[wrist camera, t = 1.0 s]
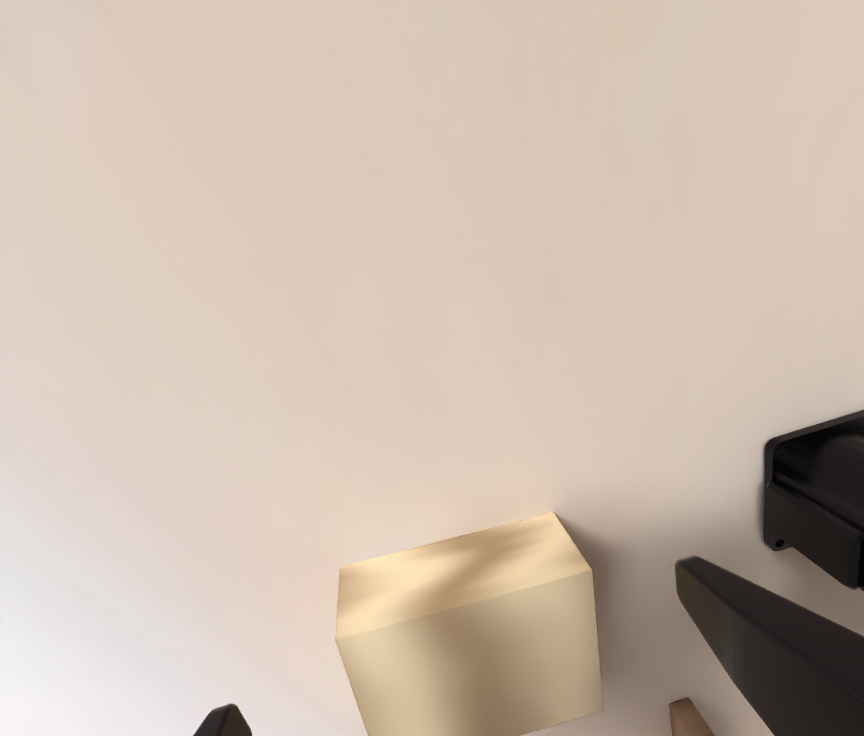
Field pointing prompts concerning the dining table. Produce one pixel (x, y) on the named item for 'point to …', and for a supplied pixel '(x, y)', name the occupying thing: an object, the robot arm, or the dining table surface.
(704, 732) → the brown angled piece
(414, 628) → the cream rectangular block
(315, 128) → the dining table surface
